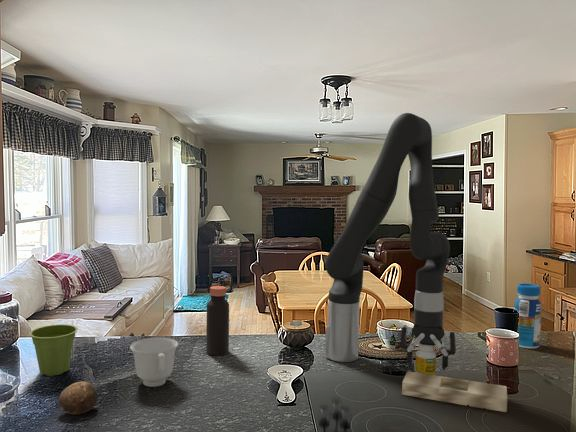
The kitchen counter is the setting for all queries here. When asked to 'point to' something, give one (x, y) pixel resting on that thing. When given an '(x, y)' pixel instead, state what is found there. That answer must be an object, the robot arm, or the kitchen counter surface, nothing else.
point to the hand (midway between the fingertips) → (427, 366)
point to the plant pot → (53, 347)
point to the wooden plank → (455, 391)
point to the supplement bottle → (425, 360)
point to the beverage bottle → (528, 315)
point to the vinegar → (217, 322)
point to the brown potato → (78, 398)
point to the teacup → (154, 359)
